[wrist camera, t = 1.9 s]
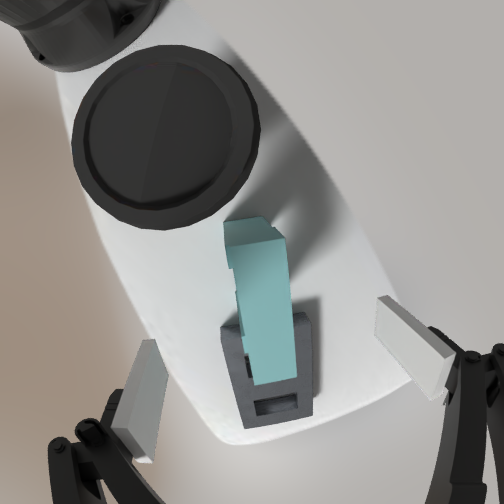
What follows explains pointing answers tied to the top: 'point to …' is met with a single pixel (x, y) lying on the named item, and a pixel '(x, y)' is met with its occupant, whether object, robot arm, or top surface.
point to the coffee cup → (165, 137)
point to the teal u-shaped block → (262, 297)
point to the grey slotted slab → (248, 392)
